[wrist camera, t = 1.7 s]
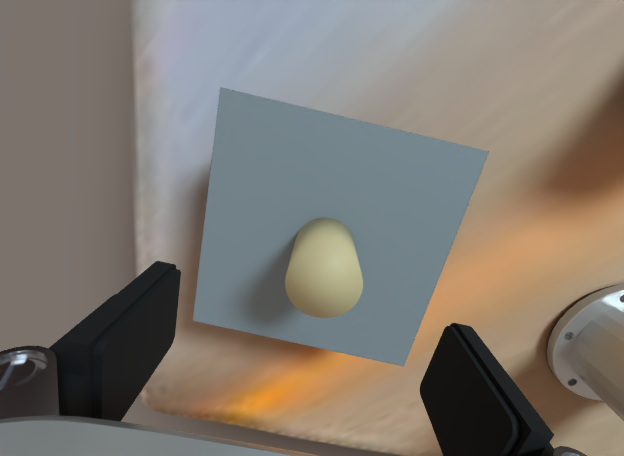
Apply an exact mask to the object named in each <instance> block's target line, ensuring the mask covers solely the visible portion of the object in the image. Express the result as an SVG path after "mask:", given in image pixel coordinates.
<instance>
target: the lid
mask: <svg viewBox="0 0 624 456" xmlns="http://www.w3.org/2000/svg"><path fill="white" fill-rule="evenodd" d="M488 153H489V151H484V150H480V149H476V148H472V147H468V146H464V145H459V144H455V143H451V142H447V141H443V140H439V139H434V138H430V137H426V136H422V135H418V134H413V133H409V132H405V131H401V130H397V129H393V128H388V127H384V126H380V125H376V124H372V123H367V122H363V121H359V120H355V119H351V118H347V117H342V116H338V115H334V114H330V113H326V112H321V111H317V110H313V109H309V108H305V107H301V106H296V105H292V104H288V103H284V102H280V101H276V100H271V99H267V98H263V97H259V96H255V95H250V94H246V93H242V92H238V91H234V90H230V89H225V88H221V87H220V95H219V103H218V111H217V120H216V128H215V137H214V145H213V153H212V162H211V170H210V178H209V187H208V195H207V204H206V212H205V220H204V229H203V237H202V245H201V254H200V262H199V271H198V279H197V287H196V296H195V304H194V312H193V321H196V322H201V323H206V324H210V325H215V326H219V327H224V328H229V329H233V330H238V331H242V332H247V333H252V334H256V335H261V336H266V337H270V338H275V339H279V340H284V341H289V342H293V343H298V344H302V345H307V346H312V347H316V348H321V349H325V350H330V351H335V352H339V353H344V354H349V355H353V356H358V357H362V358H367V359H372V360H376V361H381V362H385V363H390V364H395V365H399V366H404V364H405V362H406V359H407V357H408V354H409V352H410V349H411V347H412V344H413V342H414V339H415V337H416V334H417V332H418V329H419V327H420V324H421V322H422V319H423V317H424V314H425V312H426V309H427V307H428V304H429V302H430V299H431V297H432V294H433V291H434V289H435V286H436V284H437V281H438V279H439V276H440V274H441V271H442V269H443V266H444V264H445V261H446V259H447V256H448V254H449V251H450V249H451V246H452V244H453V241H454V239H455V236H456V234H457V231H458V229H459V226H460V224H461V221H462V219H463V216H464V214H465V211H466V209H467V206H468V203H469V201H470V198H471V196H472V193H473V191H474V188H475V186H476V183H477V181H478V178H479V176H480V173H481V171H482V168H483V166H484V163H485V161H486V158H487V156H488Z"/></svg>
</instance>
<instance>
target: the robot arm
mask: <svg viewBox="0 0 624 456" xmlns="http://www.w3.org/2000/svg"><path fill="white" fill-rule="evenodd" d="M180 276H181V272H180V270H177V269H176V265H175V264H170V263H165V262H160V261H157V262H155V263H154V264H153V265H151V266H150V267H149V268H148V269H147V270H145V271H144V272H143V273H142V274H141V275H139V276H138V277H137V278H136V279H135V280H133V281H132V282H131V283H130V284H129V285H127V286H126V287H125V288H124V289H123V290H121V291H120V292H119V293H118V294H115V295H114V296H112V297H110V298H109V299H108V300H107V301H106V302H104V303H103V304H102V305H101V306H100V307H98V308H97V309H96V310H95V311H93V312H92V313H91V314H90V315H89V316H87V317H86V318H85V319H84V320H82V321H81V322H80V323H79V324H78V325H76V326H75V327H74V328H73V329H71V330H70V331H69V332H68V333H67V334H65V335H64V336H63V337H62V338H61V339H59V340H58V341H57V342H56V343H54V344H53V345H52V346H51V347H50V348H45V347H42V346H21V347H14V348H11V349H7V350H4V351H1V352H0V456H318V455H313V454H308V453H302V452H297V451H291V450H285V449H280V448H274V447H269V446H263V445H257V444H252V443H246V442H240V441H234V440H229V439H223V438H217V437H211V436H206V435H200V434H194V433H189V432H183V431H177V430H170V429H164V428H158V427H151V426H145V425H139V424H132V423H126V422H120V421H121V420H122V418H123V417H124V416H125V414H126V413H127V411H128V409H129V408H130V407H131V405H132V404H133V402H134V401H135V399H136V397H137V396H138V395H139V393H140V392H141V390H142V389H143V387H144V386H145V384H146V383H147V381H148V380H149V378H150V377H151V375H152V374H153V372H154V371H155V369H156V368H157V366H158V365H159V363H160V362H161V360H162V359H163V357H164V356H165V354H166V353H167V351H168V350H169V348H170V347H171V345H172V343H173V340H174V337H175V328H176V317H177V307H178V297H179V287H180ZM547 359H548V363H549V366H550V369H551V371H552V372H553V374H554V375H555V376H556V378H557V379H558V380H559V381H560V382H561V383H562V384H563V385H564V386H565V387H566V388H567V389H569V390H570V391H572V392H573V393H575V394H577V395H579V396H582V397H584V398H588V399H593V400H601V401H604V402H605V403H606V404H607V405H608V406H609V407H610V408H611V409H612V410H613V411H614V412H615V413H616V414H617V415H618V416H619V417H620V418H621V419H622V420H623V421H624V284H621V285H616V286H612V287H609V288H605V289H602V290H600V291H598V292H595V293H593V294H591V295H589V296H587V297H586V298H584V299H582V300H581V301H579V302H578V303H576V304H575V305H574V306H573V307H571V308H570V309H569V310H568V311H567V312H566V313H565V314H564V315H563V316H562V317H561V318H560V320H559V321H558V323H557V324H556V326H555V327H554V329H553V331H552V333H551V336H550V338H549V341H548V347H547ZM420 395H421V398H422V400H423V403H424V406H425V408H426V411H427V413H428V416H429V419H430V421H431V424H432V427H433V429H434V432H435V434H436V437H437V440H438V442H439V445H440V448H441V450H442V453H443V456H587V455H585V454H583V453H581V452H579V451H578V450H575V449H572V448H570V447H564V446H559V447H557V448H555V449H554V448H553V447H552V445H551V444H550V443H549V442H550V440H551V439H552V437H553V436H554V434H553V433H552V432H551V430H550V429H549V428H548V426H547V425H546V424H545V422H544V421H543V420H542V418H541V417H540V416H539V415H538V413H537V412H536V411H535V409H534V408H533V407H532V405H531V404H530V403H529V401H528V400H527V399H526V398H525V396H524V395H523V394H522V392H521V391H520V390H519V388H518V387H517V386H516V384H515V383H514V382H513V380H512V379H511V378H510V377H509V375H508V374H507V373H506V371H505V370H504V369H503V367H502V366H501V365H500V363H499V362H498V361H497V360H496V358H495V357H494V356H493V354H492V353H491V352H490V350H489V349H488V348H487V346H486V345H485V344H484V343H483V341H482V340H481V339H480V337H479V336H478V335H477V333H476V332H475V331H474V329H473V328H472V327H470V326H466V325H462V324H457V323H452V324H451V325H450V326H447V327H446V328H445V329H444V331H443V334H442V336H441V338H440V341H439V343H438V345H437V347H436V350H435V352H434V354H433V357H432V359H431V361H430V364H429V366H428V368H427V371H426V373H425V375H424V377H423V380H422V382H421V385H420Z"/></svg>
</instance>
